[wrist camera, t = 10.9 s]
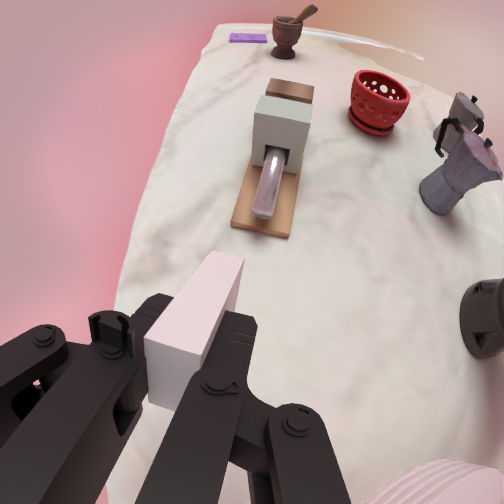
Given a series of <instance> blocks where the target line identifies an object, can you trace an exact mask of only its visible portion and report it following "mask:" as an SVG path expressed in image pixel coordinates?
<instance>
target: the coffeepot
mask: <svg viewBox="0 0 504 504" xmlns="http://www.w3.org/2000/svg"><path fill="white" fill-rule="evenodd" d="M459 93H460V94H459ZM459 93H456V96H455V98H454V101H453V104H452V106H451V109H450V111H449V116H448V118H458V119H459V121H460V122H461V124H462V125H464V126H465V127H466V128H467V129H468V131H472V130H473V129H474V128H475V127H476V126H477V125H478V127H477V128H476V129H475V130H474V131H473V132H475V133H476V134H477V135H479V134H480V133H482V131H483V128H484V122H483V119H484V116H483V112H482V111H481V110H480V109H479V107H478V106H477V105H476V104H475V102H476V101H477V100H478V99H477V98H476V97H475V96H472V99H471V100H470V99H469V98H468V97H467V96H466V95H464V94H463V93H461V92H459ZM448 118H446V119H448ZM440 128H441V124H440V125H439V126H438V127H437V128H436V129H435V130H434V134H433V135H434V138H435V140H436V142H437V140H438V136H439V132H440ZM459 137H460V135H459V134H458V133H457V131H456V130H455V127H454V126H453V125H452V124H448V125H447V129H446V132H445V136H444V139H443V141H442V143H441V147H442V148H443V149H444V150H445V151H447V152H448V153H450V152H451V150H452V149H453V147H454V145H455V144H456V142H457V140H458V138H459Z"/></svg>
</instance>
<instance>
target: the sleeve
mask: <svg viewBox="0 0 504 504" xmlns="http://www.w3.org/2000/svg"><path fill="white" fill-rule="evenodd" d="M312 108H313V105H311V104H306V103H302V102H297V101H293V100H288V99H282V98H277V97H272V96H266V95H261V97H260V99H259V102H258V104H257V107H256V109H255V112H254V126H253V141H252V158H251V165H255V166H260V167H264V163H265V159H266V156H267V152H268V149H269V145H272V146H277V147H282V148H286V149H287V153H286V157H285V162H284V167H283V171H284V172H289V173H293V174H297V173H298V169H299V166H300V162H301V158H302V154H303V151H304V147H305V143H306V139H307V135H308V131H309V128H310V124H311V116H312Z"/></svg>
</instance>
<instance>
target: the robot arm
mask: <svg viewBox="0 0 504 504" xmlns="http://www.w3.org/2000/svg"><path fill="white" fill-rule="evenodd" d="M244 259H245V258H242V257H238V256H234V255H229V254H225V253H221V252H216V251H211V252H210V253H209V255H208V256H207V257H206V258H205V260H204V261H203V262H202V263H201V265H200V266H199V267H198V268H197V269H196V271H195V272H194V273H193V274H192V276H191V277H190V278H189V280H188V281H187V282H186V283H185V285H184V286H183V287H182V288H181V290H180V291H179V292H178V293H177V295H176V296H175V297H171V296H168V295H164V294H161V293H158V294H156V295H154V296H151V297H149V298H148V299H147V300H146V301H145V302H144V303H143V304H142V305H141V307H139V308H138V309H137V310H136V311H135V314H133V315H132V316H131V317H129V316H127V315H126V314H124V313H122V312H118V311H113V310H109V311H100V312H97V313H94V314H93V315H91V316H89V317H88V320H89V326H90V332H91V338H92V342H91V344H90V345H85V344H79V343H73V342H68V341H66V338H65V335H64V333H63V331H62V330H61V329H60V328H58V327H57V326H54V325H50V324H46V325H39V326H36V327H34V328H32V329H30V330H28V331H26V332H25V333H23V334H21V335H19V336H18V337H16V338H14V339H12V340H10V341H9V342H7V343H5V344H4V345H2V346H0V504H95V502H96V500H97V498H98V496H99V495H100V493H101V491H102V489H103V487H104V485H105V483H106V481H107V479H108V477H109V475H110V473H111V471H112V469H113V467H114V466H115V464H116V462H117V460H118V458H119V456H120V454H121V452H122V450H123V448H124V447H125V445H126V443H127V441H128V439H129V437H130V435H131V433H132V432H133V430H134V428H135V426H136V424H137V422H138V420H139V419H140V417H141V414H142V410H143V408H142V401H143V399H144V398H145V396H146V394H147V392H148V400H149V402H150V403H153V404H155V405H158V406H161V407H164V408H167V409H170V410H173V411H175V414H174V416H173V418H172V420H171V423H170V425H169V427H168V429H167V432H166V434H165V436H164V438H163V441H162V443H161V445H160V447H159V450H158V452H157V454H156V456H155V459H154V461H153V463H152V465H151V468H150V470H149V472H148V474H147V477H146V479H145V481H144V483H143V486H142V488H141V490H140V492H139V495H138V497H137V499H136V501H135V504H218V500H219V496H220V492H221V488H222V484H223V480H224V476H225V472H226V468H227V464H228V461H229V462H231V463H233V464H235V465H237V466H239V467H241V468H243V469H245V470H247V474H248V482H249V490H250V498H251V504H351V501H350V498H349V495H348V492H347V489H346V486H345V483H344V480H343V477H342V474H341V471H340V468H339V465H338V462H337V459H336V456H335V453H334V451H333V448H332V445H331V442H330V439H329V436H328V433H327V430H326V427H325V424H324V422H323V420H322V419H321V417H320V415H319V414H318V413H316V412H315V411H314V410H313V409H312V408H309V407H307V406H304V405H302V404H294V403H290V404H284V405H281V406H279V407H278V408H275V407H273V406H271V405H268V404H266V403H264V402H263V401H261V400H259V399H258V398H257V397H255V396H254V395H253V394H252V392H251V391H250V389H249V388H248V385H247V374H248V369H249V365H250V360H251V355H252V351H253V346H254V341H255V337H256V332H257V327H258V326H257V324H256V322H255V319H254V317H252V316H248V315H244V314H239V313H235V312H234V310H235V305H236V300H237V295H238V290H239V284H240V279H241V274H242V269H243V264H244ZM460 324H461V331H462V335H463V338H464V341H465V343H466V345H467V347H468V349H469V350H470V352H471V353H472V354H473V355H474V356H476V357H478V358H482V359H484V358H489V357H493V356H496V355H497V354H499V353H500V352H502V351H503V350H504V278H503V279H491V280H482V281H479V282H477V283H475V284H473V285H472V286H470V287H469V288H468V289H467V291H466V292H465V294H464V296H463V299H462V303H461V309H460ZM36 380H39V382H40V384H39V385H33V382H35V381H36Z"/></svg>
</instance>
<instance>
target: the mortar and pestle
mask: <svg viewBox="0 0 504 504" xmlns="http://www.w3.org/2000/svg"><path fill="white" fill-rule="evenodd" d="M317 10H318V8H317V7H316V6H314V5H313V4H312V5H309V6H308V7H306V8H305V9H304V10H303V12H302V13H301V14H300V15H299V16H298V17H296V18H292V17H285V16H277V17H274V19H273V29H272V33H273V39H274V41H275V42H276V43H277V46H276V47H274V48H273V50H272V52H271V53H272V55H273V56H275V57H277V58H282V59H290V58H294V57H295V52H294V50H293V49H292V46H293V45H295V44H296V43H297V42H298V39H299V38H300V36H301V31H302V26H303V22H302V21H303V20H305V19H306V18H308V17H309V16H311V15H313V14H314V13H316V12H317Z"/></svg>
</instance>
